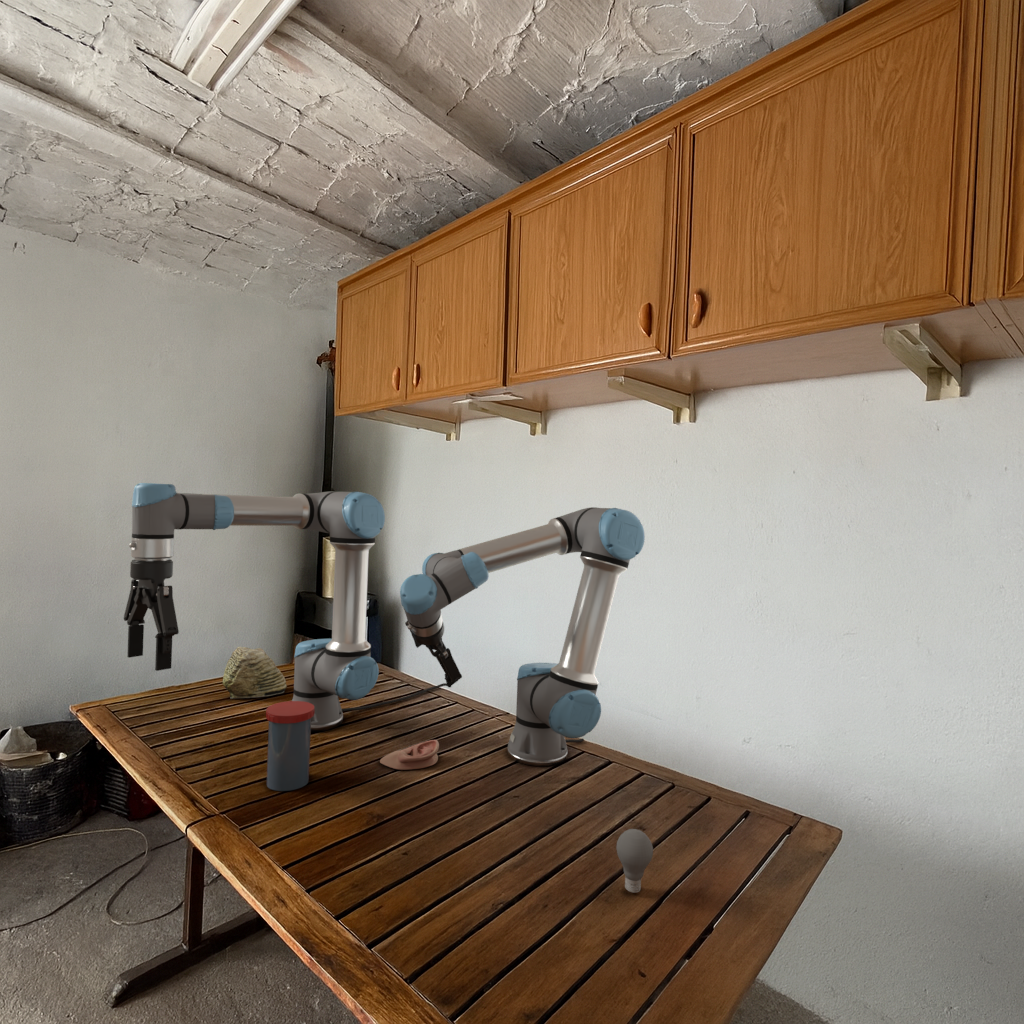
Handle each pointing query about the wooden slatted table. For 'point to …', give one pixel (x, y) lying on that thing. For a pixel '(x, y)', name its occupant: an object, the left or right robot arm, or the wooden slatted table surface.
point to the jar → (288, 755)
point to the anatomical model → (413, 756)
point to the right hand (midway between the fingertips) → (436, 663)
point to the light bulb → (634, 857)
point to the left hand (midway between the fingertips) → (148, 662)
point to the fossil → (252, 674)
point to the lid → (290, 712)
